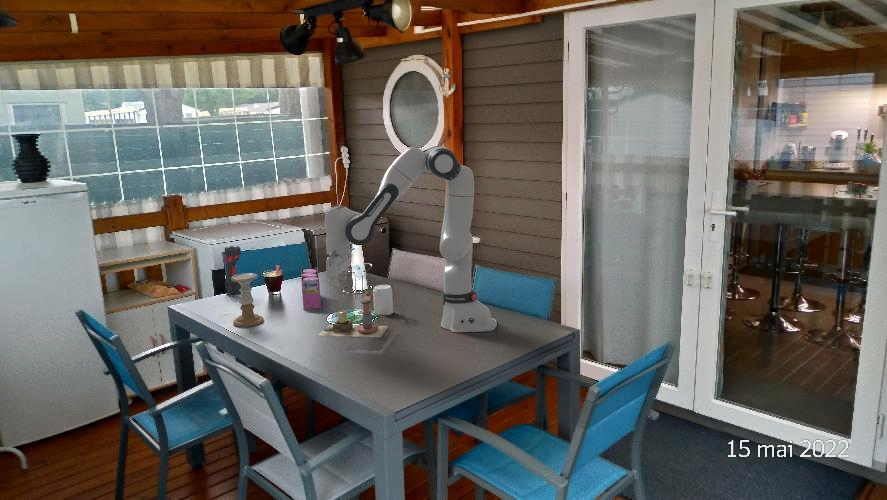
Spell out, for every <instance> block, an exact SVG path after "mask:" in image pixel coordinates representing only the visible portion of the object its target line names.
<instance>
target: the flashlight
mask: <svg viewBox="0 0 887 500" xmlns="http://www.w3.org/2000/svg"><path fill="white" fill-rule="evenodd" d="M241 255H242V252H241V247H240V246H239V245H237V246H234V245H233V246H229V247H227V246H225V248H224V259H225V271H226V281H225V282H224V286H225V294H226V295H230V296H231V295H233V294H235V295H239V294H241V292H240V291H239V290H240V288H241V285H240V284H239V283H238V282H236V281H232V280H231V277H232V276H234V275H237V267H236V266H237V262H239V260H240V259H241Z"/></svg>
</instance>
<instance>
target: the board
mask: <svg viewBox="0 0 887 500" xmlns="http://www.w3.org/2000/svg"><path fill="white" fill-rule="evenodd" d="M362 325H363V324H361V325H359V324H353V328H352V329H351V330H350V331H349V332H348V333H340V332H333V331H324V330H322V331H320V332H319V333H318V335H317V336H321V337H324V336H325V337H326V336H327V337H355V338H357V337H358V338H359V337H360V338H382V336H383V335H384V334H385V332H386V331H387V329H388V328H389V327H390V325H377V326H378V330H377V331H376V332H373V333H360V332H358V331H357V328H358V327H359V326H362ZM326 327H333V324H331V323H330V324H328V325H327V326H326Z"/></svg>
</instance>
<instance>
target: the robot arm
mask: <svg viewBox="0 0 887 500" xmlns="http://www.w3.org/2000/svg"><path fill="white" fill-rule="evenodd" d="M427 172H429V173H431V174H432V175H433V176H434V175H435V176H436V177H438V178H441V179H444V180H445V181H444V182H445V186H446V187H445V194H444V195H445V196H444V197H445V200H444V213H443V219H442V225H441V233H440V241H439V253H440V255H441V256H442V258H443V259H444V265H443V271H442V272H443V275H442V277H443V291H442V305H443V310H442V318H441V322H440V326H441V328H443V329H445V330H448V331H451V332H452V333H474V332H478V333H479V332H492V331H494V330H495V329H496V328H497V325H498V321H497V320H496V318H494V317H492V314H491V310H490V309H489V307H488V306H487V305H485V304H483V303H482V302H481V301H479V300H478V295H477V290H475V291H474V290H473V289H472V267H473V266H472V265H473V247H474V245H473V244H474V243H473V241H474V239H473V234H472V232H471V226H472V220H473V216H474V202H475V201H474V200H475V176H474V172H473V170H472V169H471V168H470V167H469V166H466V165H462V164H460V162H459V161H458V159H457V157H456V154H455V153H454V152H453V151H452V150H451V149H449V148H448V147H445V146H441V145H434V146H432V147H429V148H427V149H424V150H421V149H420V148H419V147H417V146H410V147H407V148H406V149H405V150H403V151H402V152H401V153H400V154H399V155H398V156H397V157H396V158H395V160H394V161H393V162H392V163H391V164H390V166H389V167H388V168H387V169H386V171H385V172H384V175H383V177H382V178H381V181H380V186H379V188H378V191H377V194H376V195H375V197H374V198H373V199H372V201H371V202H370V203H369V205H367V207H366V209H364V211H363V212H362V213H361V212H357V211H354V210H352V209H350V208H348V207H347V206H346V205H335V206H332V207H330V208H328V209H327V210H326V212H325V217H324V230H325V233H326V238H325V247H326V248H325V250H326V254H327V255H329V256H328V257H327V258H326V261H325V262H326V264H325V265H326V266H325V270H326V272H325V274H326V277H327V278H330V279H331V282H332V286H333V287H334V288H338V287H339V286H340V284H339V283H340V282H339V279H338V278H339V275H340V280H341V281H346V280H347V273H348V268H350V267H351V265H352V256H353V255H352V253H353V252H352V249H353V245H355V246H364V245H366V244H368V243H369V242H370V241H371V240H372V239H373V235H374V230H375V227H376V226H377V224H378V223H379V221H380V220H381V218H382V217H383V216H384V215H385V213H386V212H387V211H388V209H389V208H390V207H391V206H392V205H393V204H394V203H396V201H398V199H400V198H401V197H402V196H403V195H404V194H405V193H406V192H408V191H409V190H410V189H411V187H412V186H413V185H414V184H415V183H416V181H417V180H418V178H419V177H420V176H421V175H422V174H424V173H427Z"/></svg>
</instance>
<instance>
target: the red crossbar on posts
mask: <svg viewBox="0 0 887 500" xmlns="http://www.w3.org/2000/svg"><path fill="white" fill-rule="evenodd" d="M360 303H361V304H362V309H363V311H362V312H361V316H362V324H361V325H362V326H359V327H358V328H357V331H358V332H360V333H373V332H376V331H377V330H378V326H379V325H375V324H373V317H372V315H373V314H372V311H371V308H372V294H371V292H366V293H365V296H364V299H363V300H361V301H360Z"/></svg>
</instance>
